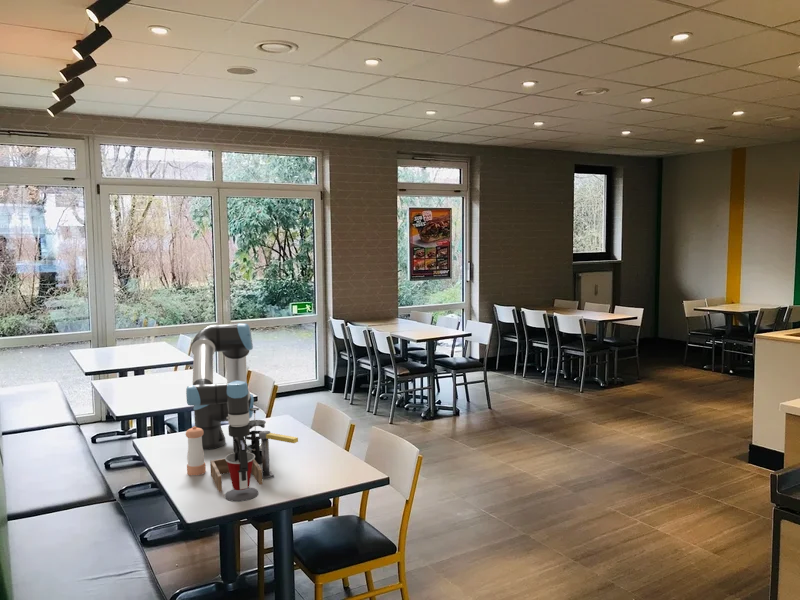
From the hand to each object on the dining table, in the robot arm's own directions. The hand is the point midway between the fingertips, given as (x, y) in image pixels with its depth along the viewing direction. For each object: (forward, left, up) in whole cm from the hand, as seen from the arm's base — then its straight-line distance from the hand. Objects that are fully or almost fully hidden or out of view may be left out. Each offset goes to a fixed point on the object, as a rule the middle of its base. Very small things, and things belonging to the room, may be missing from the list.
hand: (241, 484), depth 239 cm
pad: (0, 0, -4) cm, 4 cm away
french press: (-36, +13, -4) cm, 39 cm away
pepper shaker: (-33, -12, -4) cm, 35 cm away
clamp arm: (-9, +16, +12) cm, 22 cm away
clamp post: (-15, +13, -4) cm, 20 cm away
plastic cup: (0, 0, -1) cm, 1 cm away
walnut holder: (-17, +1, -4) cm, 17 cm away
